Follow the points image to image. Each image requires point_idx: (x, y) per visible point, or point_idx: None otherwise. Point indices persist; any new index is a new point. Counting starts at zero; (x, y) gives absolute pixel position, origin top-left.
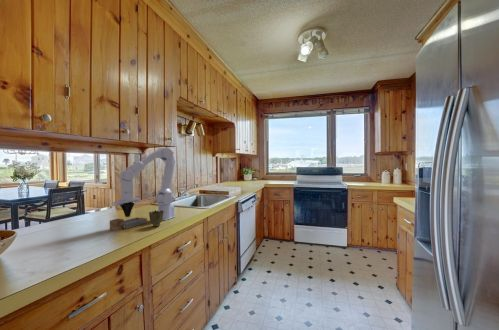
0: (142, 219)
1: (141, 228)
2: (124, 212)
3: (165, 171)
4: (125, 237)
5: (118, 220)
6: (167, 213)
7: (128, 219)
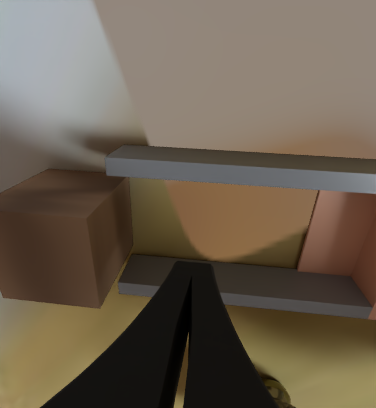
0: (317, 312)
1: (187, 344)
2: (151, 310)
3: None
4: (35, 365)
5: (39, 296)
6: None
7: (285, 174)
